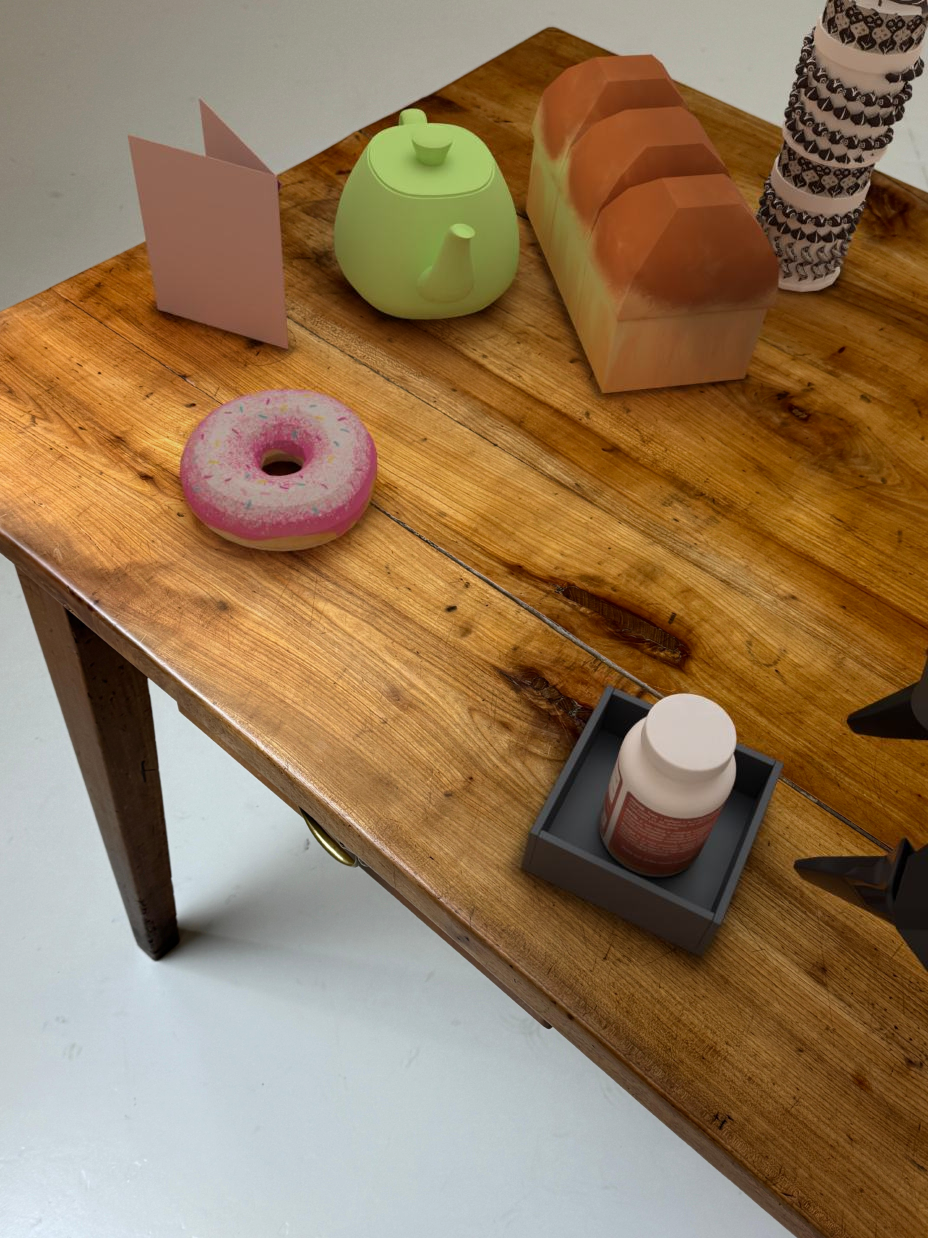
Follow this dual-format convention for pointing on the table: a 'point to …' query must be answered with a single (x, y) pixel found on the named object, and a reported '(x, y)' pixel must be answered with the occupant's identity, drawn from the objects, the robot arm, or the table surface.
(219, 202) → the greeting card
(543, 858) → the bin
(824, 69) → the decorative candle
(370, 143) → the teapot
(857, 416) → the table surface
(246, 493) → the donut
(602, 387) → the bread
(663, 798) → the pill bottle
